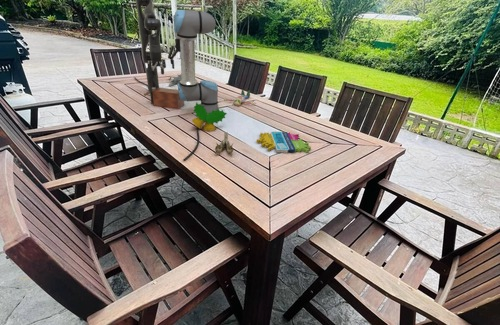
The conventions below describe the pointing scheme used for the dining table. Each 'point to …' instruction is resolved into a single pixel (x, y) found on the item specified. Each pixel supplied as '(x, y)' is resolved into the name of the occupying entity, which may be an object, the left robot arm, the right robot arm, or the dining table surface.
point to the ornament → (207, 117)
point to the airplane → (174, 80)
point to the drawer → (150, 96)
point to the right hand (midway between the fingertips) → (181, 68)
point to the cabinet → (167, 98)
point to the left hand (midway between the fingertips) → (157, 75)
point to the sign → (283, 142)
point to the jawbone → (224, 145)
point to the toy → (241, 99)
